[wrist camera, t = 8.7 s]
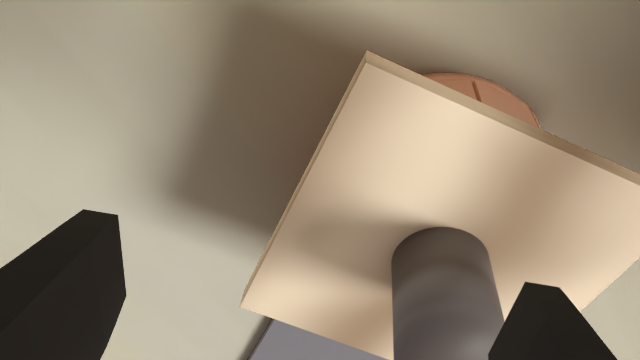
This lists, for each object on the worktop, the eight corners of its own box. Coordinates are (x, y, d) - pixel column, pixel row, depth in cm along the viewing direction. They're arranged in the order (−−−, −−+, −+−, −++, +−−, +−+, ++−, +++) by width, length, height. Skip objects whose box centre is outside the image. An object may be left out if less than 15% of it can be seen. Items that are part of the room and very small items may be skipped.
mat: (238, 374, 29) (237, 381, 29) (321, 236, 23) (321, 243, 23) (419, 436, 31) (420, 443, 30) (542, 323, 25) (544, 330, 24)
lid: (244, 289, 20) (213, 399, 16) (366, 50, 14) (361, 136, 10) (484, 376, 21) (505, 494, 18) (680, 192, 16) (769, 309, 12)
